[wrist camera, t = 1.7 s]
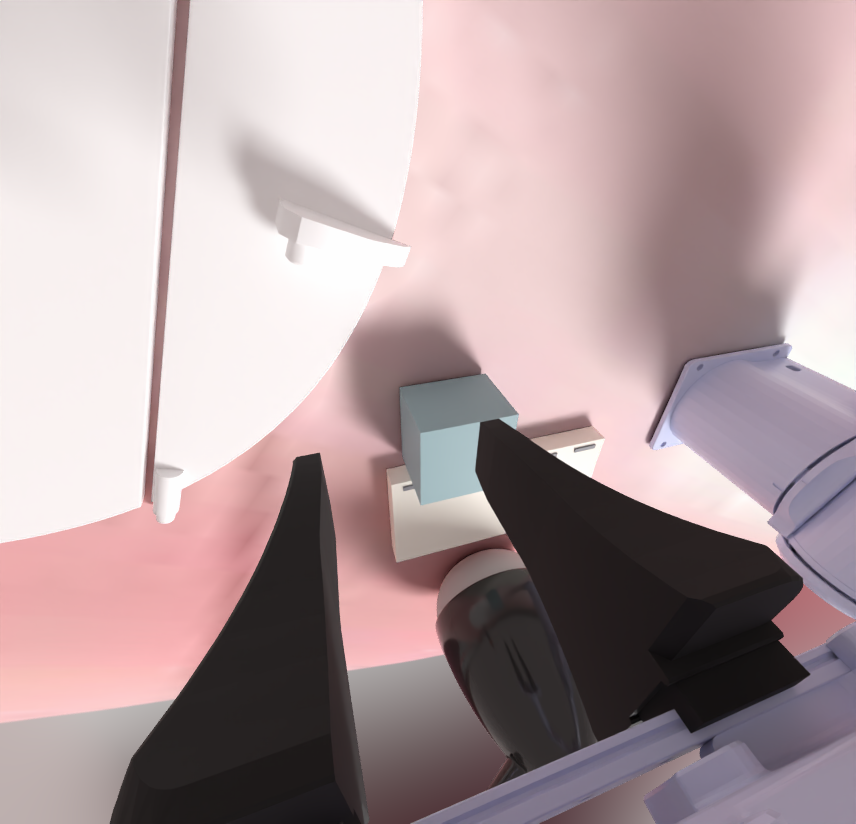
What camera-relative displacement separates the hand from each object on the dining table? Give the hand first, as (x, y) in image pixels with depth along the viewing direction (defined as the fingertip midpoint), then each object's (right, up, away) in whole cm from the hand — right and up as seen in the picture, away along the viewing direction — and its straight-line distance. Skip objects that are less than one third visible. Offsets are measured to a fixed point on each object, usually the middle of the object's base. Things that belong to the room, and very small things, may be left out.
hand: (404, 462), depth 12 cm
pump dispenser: (+5, -12, +24) cm, 27 cm away
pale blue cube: (+1, +1, +12) cm, 12 cm away
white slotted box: (+5, -4, +17) cm, 19 cm away
